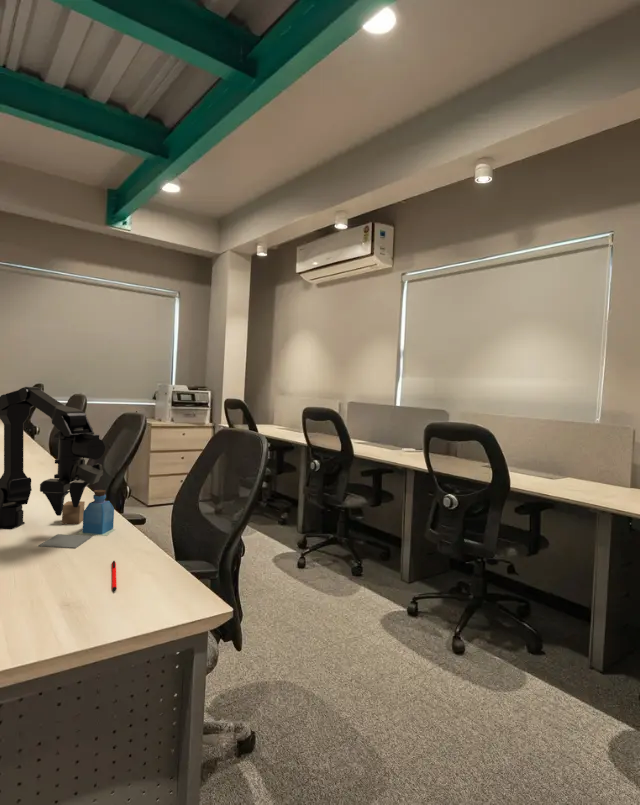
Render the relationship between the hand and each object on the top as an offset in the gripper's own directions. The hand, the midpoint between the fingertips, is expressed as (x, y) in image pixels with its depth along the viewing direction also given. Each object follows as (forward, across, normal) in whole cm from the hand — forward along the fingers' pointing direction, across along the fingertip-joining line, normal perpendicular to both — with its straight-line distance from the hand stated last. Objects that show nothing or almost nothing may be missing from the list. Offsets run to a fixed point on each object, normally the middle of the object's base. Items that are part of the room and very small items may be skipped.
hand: (67, 511), depth 136 cm
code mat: (+9, +11, -4) cm, 15 cm away
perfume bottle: (+9, +11, -4) cm, 15 cm away
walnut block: (+8, +18, +7) cm, 21 cm away
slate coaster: (+9, 0, 0) cm, 9 cm away
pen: (+9, -22, -22) cm, 32 cm away
